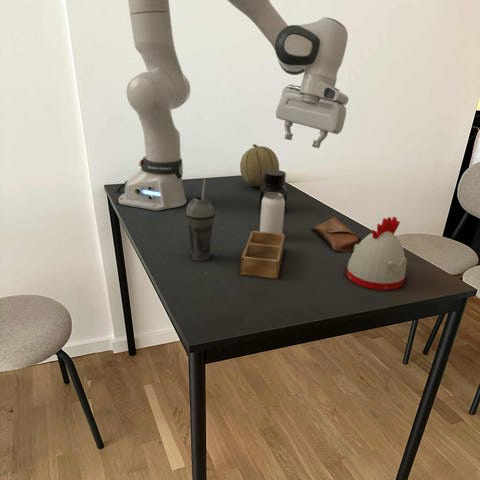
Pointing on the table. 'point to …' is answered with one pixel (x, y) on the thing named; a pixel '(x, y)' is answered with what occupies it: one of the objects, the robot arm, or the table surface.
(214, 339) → the table surface
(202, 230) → the beverage cup
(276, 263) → the organizer
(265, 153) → the cantaloupe
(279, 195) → the can
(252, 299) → the table surface
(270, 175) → the ink bottle
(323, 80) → the robot arm
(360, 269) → the kitchen timer
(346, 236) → the sunglasses case
